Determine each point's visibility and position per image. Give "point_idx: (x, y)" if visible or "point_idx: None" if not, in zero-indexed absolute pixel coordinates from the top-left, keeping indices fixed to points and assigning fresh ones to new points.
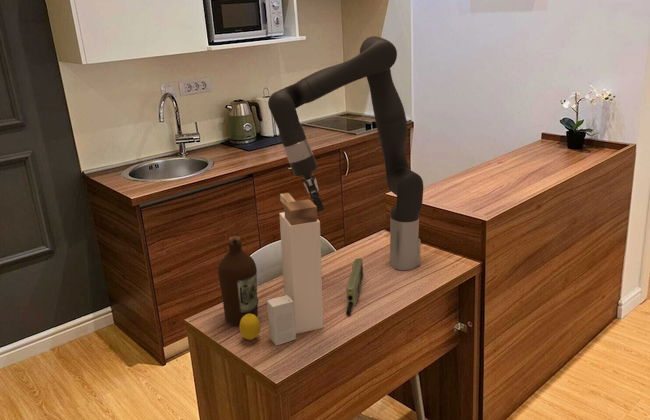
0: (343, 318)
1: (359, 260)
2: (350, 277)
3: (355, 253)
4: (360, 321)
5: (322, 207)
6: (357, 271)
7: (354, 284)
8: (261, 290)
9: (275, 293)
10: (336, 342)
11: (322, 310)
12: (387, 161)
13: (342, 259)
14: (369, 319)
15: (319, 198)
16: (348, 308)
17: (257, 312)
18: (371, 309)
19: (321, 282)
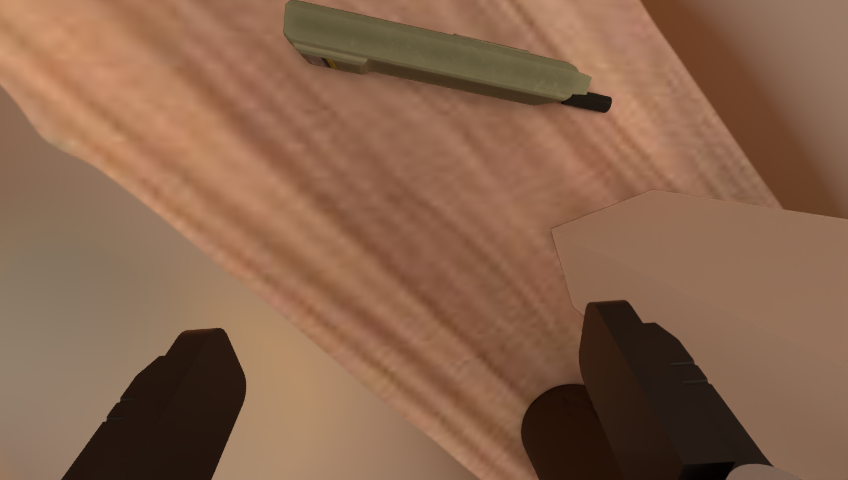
0: (610, 123)
1: (311, 16)
2: (484, 77)
3: (61, 40)
4: (635, 64)
5: (635, 324)
6: (432, 37)
7: (548, 62)
8: (413, 400)
9: (435, 354)
10: (729, 148)
11: (700, 197)
12: None
13: (139, 110)
14: (628, 30)
15: (728, 460)
16: (591, 101)
17: (580, 392)
18: (567, 15)
19: (815, 216)
